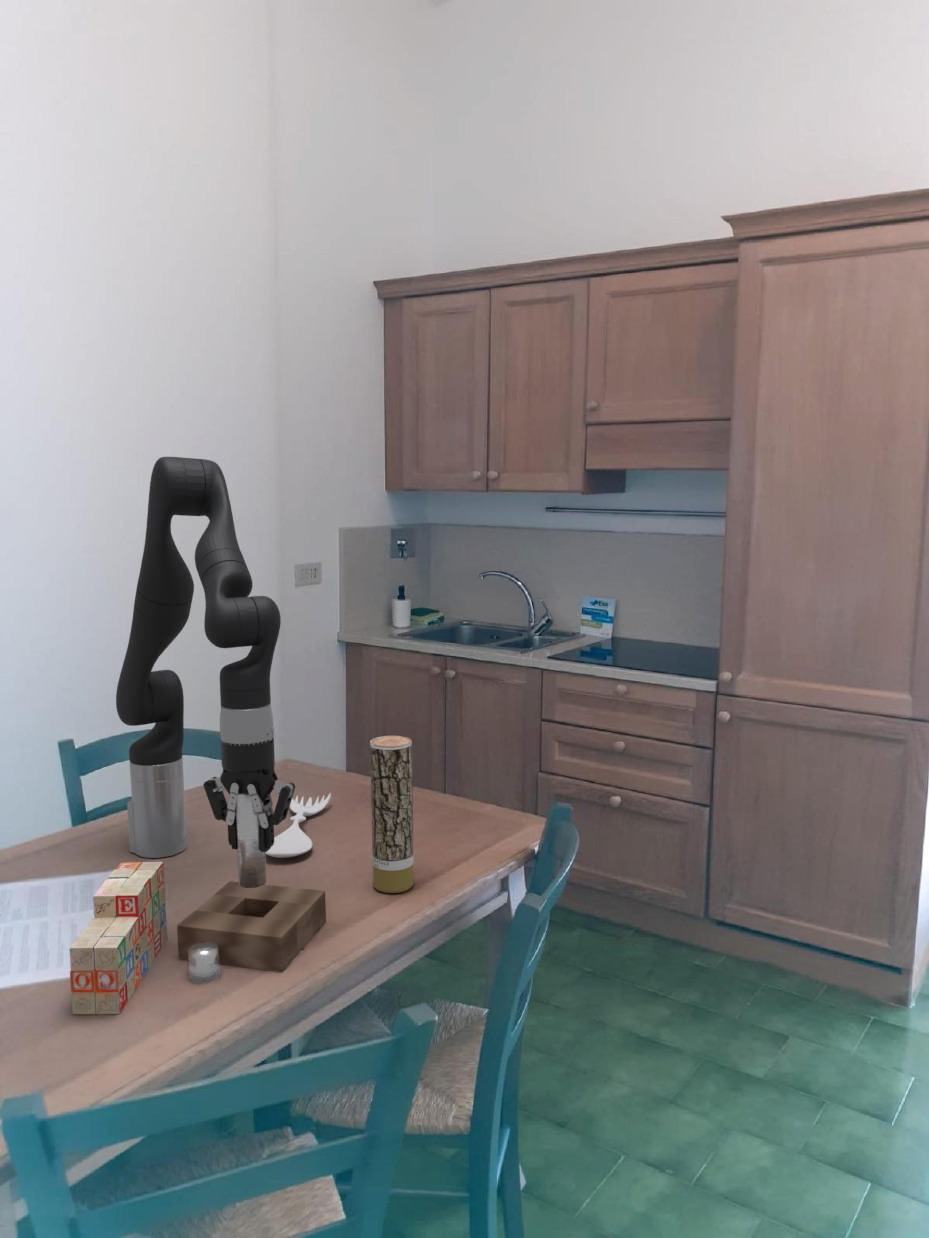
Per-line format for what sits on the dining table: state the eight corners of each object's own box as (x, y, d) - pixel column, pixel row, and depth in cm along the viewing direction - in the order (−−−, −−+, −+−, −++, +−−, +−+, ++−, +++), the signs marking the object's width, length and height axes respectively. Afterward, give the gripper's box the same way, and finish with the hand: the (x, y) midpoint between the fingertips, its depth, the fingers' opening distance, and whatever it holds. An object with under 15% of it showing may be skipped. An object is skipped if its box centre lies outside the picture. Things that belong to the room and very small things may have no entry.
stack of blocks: (120, 1015, 128) (115, 924, 126) (71, 1016, 128) (65, 925, 126) (168, 938, 149) (163, 859, 147) (125, 938, 149) (121, 860, 147)
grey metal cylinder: (184, 981, 136) (182, 953, 136) (198, 967, 140) (197, 940, 140) (210, 984, 135) (209, 956, 135) (224, 970, 139) (223, 943, 139)
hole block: (178, 958, 143) (177, 925, 142) (231, 911, 158) (230, 881, 157) (282, 971, 139) (281, 937, 138) (326, 921, 154) (325, 890, 153)
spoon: (333, 806, 208) (332, 790, 207) (307, 866, 176) (306, 847, 176) (289, 806, 208) (289, 790, 208) (256, 866, 176) (255, 848, 176)
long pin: (234, 886, 146) (230, 793, 144) (246, 875, 149) (242, 785, 147) (259, 889, 145) (255, 795, 143) (271, 878, 148) (267, 787, 146)
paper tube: (398, 898, 162) (395, 748, 159) (364, 889, 166) (361, 743, 162) (421, 883, 168) (419, 739, 164) (389, 875, 172) (386, 733, 168)
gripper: (189, 738, 142) (195, 854, 144) (281, 744, 138) (286, 862, 141) (214, 725, 149) (219, 836, 152) (303, 731, 146) (307, 843, 148)
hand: (251, 848), depth 146 cm, fingers closed on long pin, 4 cm apart
